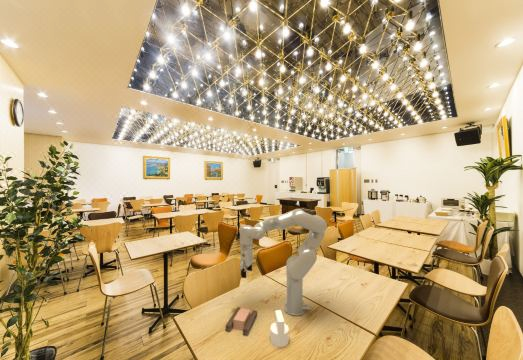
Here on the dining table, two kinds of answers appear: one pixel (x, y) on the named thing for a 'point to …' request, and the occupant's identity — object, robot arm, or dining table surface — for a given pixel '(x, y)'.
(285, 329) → the base with upright slab
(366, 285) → the dining table surface
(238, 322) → the block
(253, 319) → the chute
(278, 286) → the dining table surface
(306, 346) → the dining table surface
